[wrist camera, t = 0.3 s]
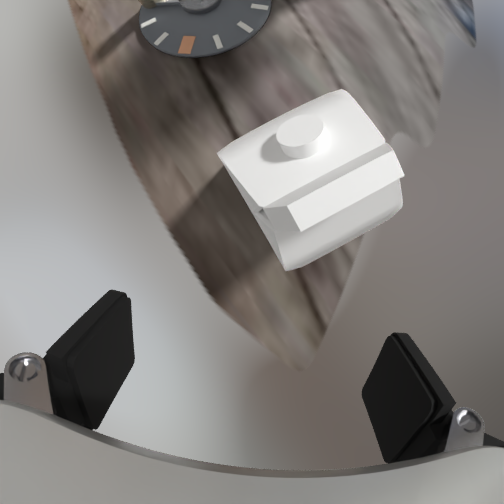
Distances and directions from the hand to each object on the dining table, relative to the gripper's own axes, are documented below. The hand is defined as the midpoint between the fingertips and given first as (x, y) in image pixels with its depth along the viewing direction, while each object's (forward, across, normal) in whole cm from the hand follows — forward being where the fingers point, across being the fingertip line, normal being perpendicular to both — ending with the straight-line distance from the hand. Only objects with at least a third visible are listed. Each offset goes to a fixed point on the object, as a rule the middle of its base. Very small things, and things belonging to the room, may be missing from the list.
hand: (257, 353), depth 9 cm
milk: (+31, -3, -6) cm, 32 cm away
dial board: (+31, +13, -31) cm, 45 cm away
